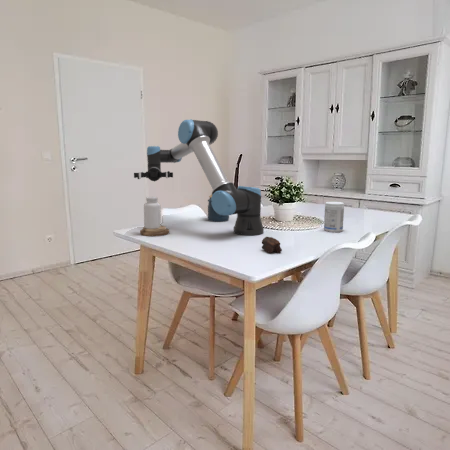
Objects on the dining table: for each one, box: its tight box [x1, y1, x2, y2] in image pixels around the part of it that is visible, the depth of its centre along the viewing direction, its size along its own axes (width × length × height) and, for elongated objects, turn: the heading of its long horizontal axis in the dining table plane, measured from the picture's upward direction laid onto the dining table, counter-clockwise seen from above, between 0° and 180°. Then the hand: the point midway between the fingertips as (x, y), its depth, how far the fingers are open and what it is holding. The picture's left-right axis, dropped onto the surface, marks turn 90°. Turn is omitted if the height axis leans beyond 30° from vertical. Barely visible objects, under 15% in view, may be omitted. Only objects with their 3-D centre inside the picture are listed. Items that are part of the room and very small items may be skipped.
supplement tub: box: [323, 201, 345, 233], centre depth 192 cm, size 10×10×15 cm
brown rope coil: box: [139, 225, 170, 237], centre depth 183 cm, size 14×14×3 cm
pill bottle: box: [143, 196, 162, 229], centre depth 181 cm, size 8×8×15 cm
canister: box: [207, 193, 230, 223], centre depth 220 cm, size 13×13×18 cm
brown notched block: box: [261, 236, 283, 254], centre depth 151 cm, size 6×7×10 cm
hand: (153, 175), depth 188 cm, fingers open, 13 cm apart
